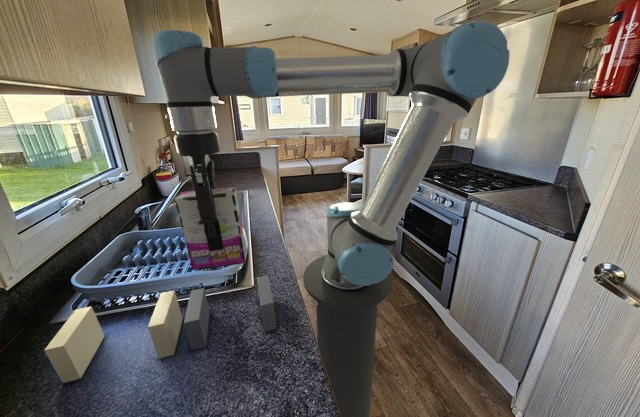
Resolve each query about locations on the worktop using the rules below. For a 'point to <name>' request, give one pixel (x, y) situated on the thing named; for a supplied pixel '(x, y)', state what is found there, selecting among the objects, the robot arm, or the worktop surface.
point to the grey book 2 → (266, 303)
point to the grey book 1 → (197, 319)
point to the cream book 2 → (165, 324)
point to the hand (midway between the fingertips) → (217, 242)
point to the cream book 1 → (75, 344)
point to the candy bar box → (228, 225)
